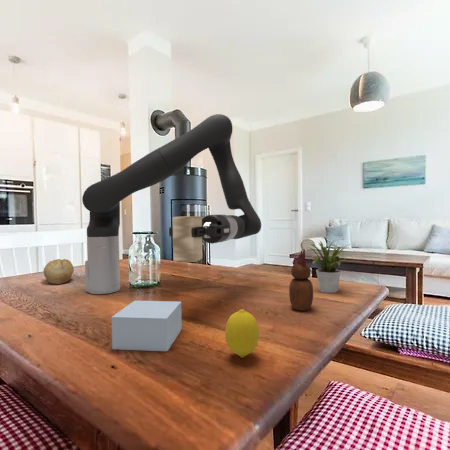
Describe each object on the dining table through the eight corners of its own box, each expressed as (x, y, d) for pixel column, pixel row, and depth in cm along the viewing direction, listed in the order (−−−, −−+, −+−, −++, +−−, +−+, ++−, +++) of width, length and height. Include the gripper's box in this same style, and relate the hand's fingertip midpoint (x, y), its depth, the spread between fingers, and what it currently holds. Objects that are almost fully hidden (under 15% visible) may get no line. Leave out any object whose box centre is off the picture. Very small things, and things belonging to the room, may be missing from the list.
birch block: (173, 261, 68) (172, 216, 68) (183, 257, 73) (182, 216, 72) (193, 261, 66) (192, 216, 66) (202, 258, 71) (201, 216, 71)
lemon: (224, 350, 52) (223, 305, 52) (255, 349, 53) (255, 303, 52) (227, 366, 47) (226, 315, 46) (262, 364, 47) (261, 314, 47)
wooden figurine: (314, 313, 71) (314, 250, 70) (289, 312, 72) (289, 249, 72) (311, 305, 78) (311, 247, 77) (289, 304, 79) (288, 246, 78)
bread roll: (70, 276, 118) (70, 255, 118) (77, 283, 106) (76, 260, 106) (42, 279, 113) (41, 258, 113) (45, 287, 101) (44, 263, 100)
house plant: (291, 290, 92) (291, 237, 91) (312, 283, 102) (312, 234, 101) (337, 299, 82) (337, 240, 82) (355, 289, 92) (355, 236, 92)
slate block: (112, 350, 53) (111, 316, 53) (135, 328, 63) (134, 300, 63) (167, 352, 52) (166, 318, 52) (181, 330, 62) (181, 301, 62)
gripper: (196, 214, 85) (156, 215, 70) (242, 214, 78) (208, 215, 63) (197, 241, 85) (156, 247, 71) (243, 243, 79) (208, 250, 64)
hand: (181, 232), depth 67 cm, fingers closed on birch block, 5 cm apart
